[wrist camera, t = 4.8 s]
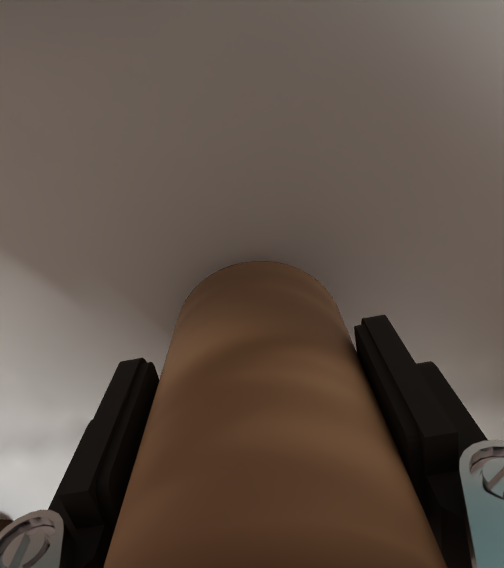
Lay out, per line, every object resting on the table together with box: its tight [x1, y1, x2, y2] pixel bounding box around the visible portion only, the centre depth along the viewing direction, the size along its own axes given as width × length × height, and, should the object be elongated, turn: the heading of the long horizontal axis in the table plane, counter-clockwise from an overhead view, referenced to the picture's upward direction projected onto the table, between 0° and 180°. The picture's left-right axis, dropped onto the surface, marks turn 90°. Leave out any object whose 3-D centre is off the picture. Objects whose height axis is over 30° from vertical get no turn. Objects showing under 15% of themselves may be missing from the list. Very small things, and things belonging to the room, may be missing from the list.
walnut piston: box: [103, 261, 448, 568], centre depth 9 cm, size 5×5×8 cm
